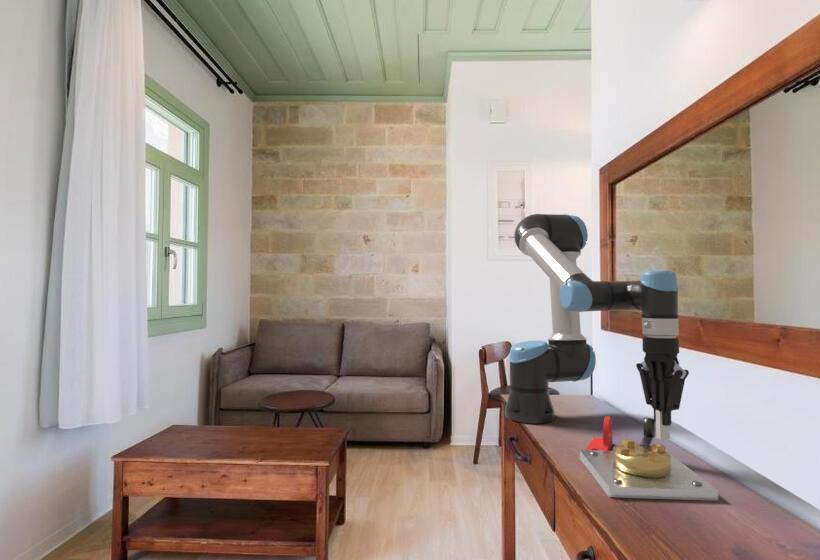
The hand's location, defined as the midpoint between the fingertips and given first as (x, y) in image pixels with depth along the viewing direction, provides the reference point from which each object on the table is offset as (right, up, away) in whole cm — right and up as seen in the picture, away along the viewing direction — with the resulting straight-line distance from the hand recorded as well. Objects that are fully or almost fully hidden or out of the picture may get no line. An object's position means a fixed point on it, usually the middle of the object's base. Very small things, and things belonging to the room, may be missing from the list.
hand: (663, 438), depth 105 cm
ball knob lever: (-7, -3, -5) cm, 9 cm away
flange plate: (-9, -5, -8) cm, 13 cm away
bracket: (-11, -6, +8) cm, 15 cm away
